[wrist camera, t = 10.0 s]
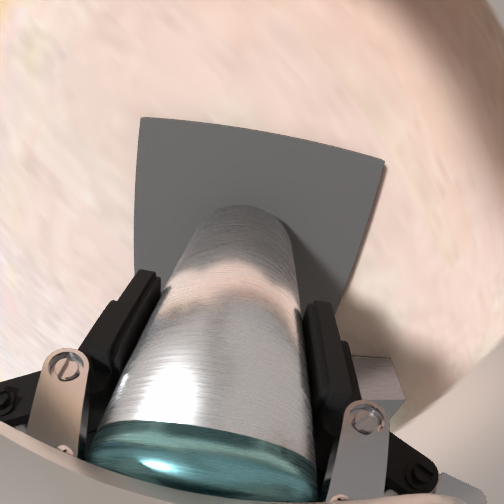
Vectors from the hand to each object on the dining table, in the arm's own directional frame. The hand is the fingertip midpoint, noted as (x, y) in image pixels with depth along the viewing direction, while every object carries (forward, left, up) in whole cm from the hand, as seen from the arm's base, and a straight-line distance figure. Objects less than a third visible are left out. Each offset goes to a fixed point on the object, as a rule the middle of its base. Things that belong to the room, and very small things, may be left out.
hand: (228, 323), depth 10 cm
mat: (0, 0, -7) cm, 7 cm away
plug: (0, 0, -5) cm, 5 cm away
